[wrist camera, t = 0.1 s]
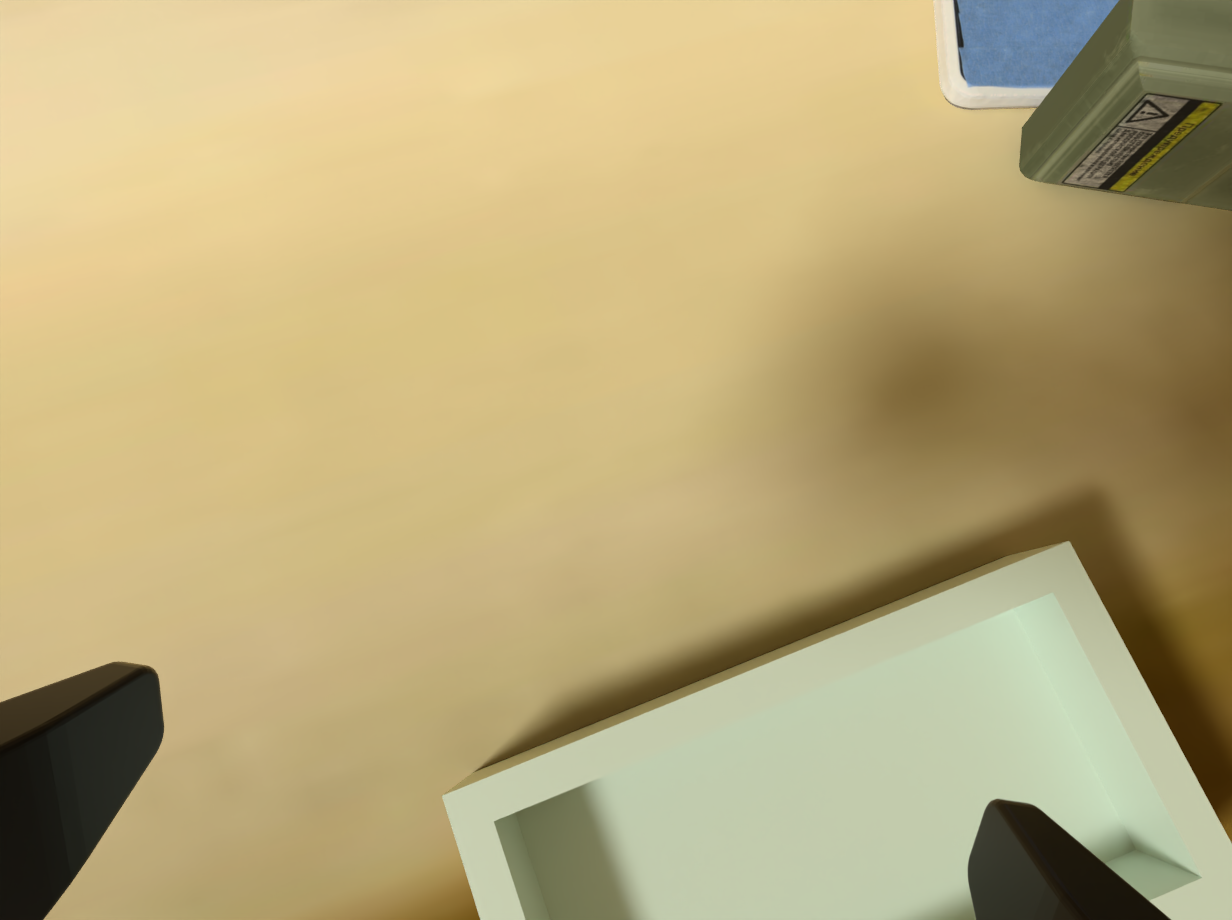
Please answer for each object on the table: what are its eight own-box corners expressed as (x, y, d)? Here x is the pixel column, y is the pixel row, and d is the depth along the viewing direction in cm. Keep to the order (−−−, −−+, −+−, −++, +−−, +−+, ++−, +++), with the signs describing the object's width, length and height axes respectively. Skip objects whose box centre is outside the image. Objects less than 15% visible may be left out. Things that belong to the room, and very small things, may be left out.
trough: (1165, 863, 21) (1264, 905, 18) (583, 1114, 20) (570, 1209, 17) (1007, 555, 23) (1069, 540, 20) (473, 772, 22) (442, 795, 19)
